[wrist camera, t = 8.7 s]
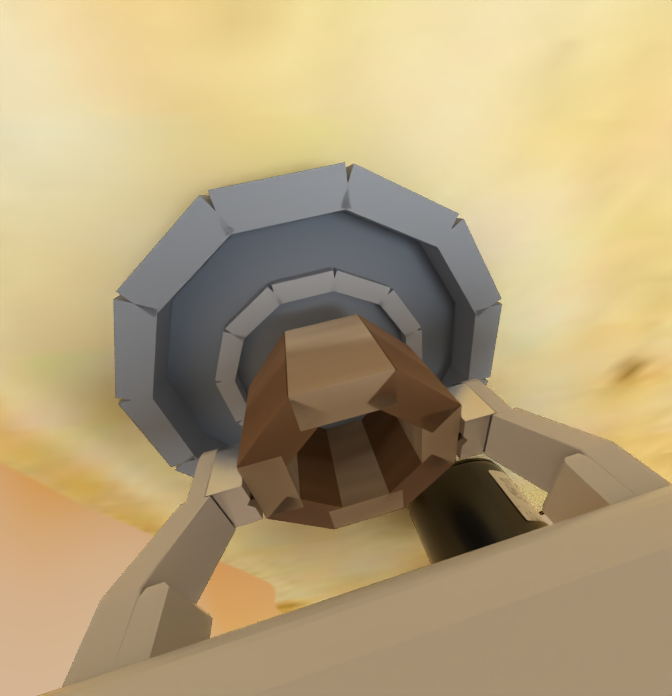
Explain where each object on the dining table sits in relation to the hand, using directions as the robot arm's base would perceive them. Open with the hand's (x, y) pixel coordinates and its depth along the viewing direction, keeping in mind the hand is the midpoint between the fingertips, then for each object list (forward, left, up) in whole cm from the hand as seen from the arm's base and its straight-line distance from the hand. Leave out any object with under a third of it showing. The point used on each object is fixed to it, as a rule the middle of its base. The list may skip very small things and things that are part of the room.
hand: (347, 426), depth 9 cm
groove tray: (0, 0, -5) cm, 5 cm away
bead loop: (0, 0, -2) cm, 2 cm away
